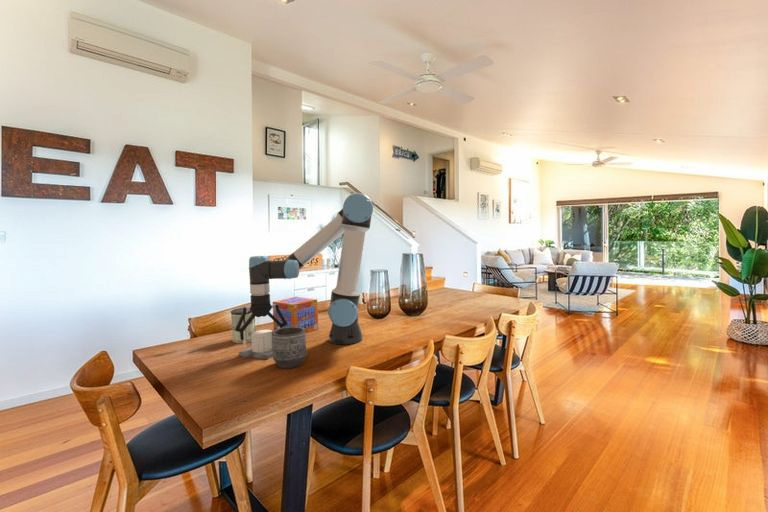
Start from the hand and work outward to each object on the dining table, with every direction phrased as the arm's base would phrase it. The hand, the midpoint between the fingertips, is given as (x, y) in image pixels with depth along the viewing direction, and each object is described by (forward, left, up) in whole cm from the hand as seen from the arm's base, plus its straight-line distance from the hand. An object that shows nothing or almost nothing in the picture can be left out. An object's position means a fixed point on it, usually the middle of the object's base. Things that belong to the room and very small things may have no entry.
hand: (262, 345), depth 152 cm
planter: (-19, +8, -3) cm, 21 cm away
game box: (+6, -33, -3) cm, 34 cm away
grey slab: (0, 0, -3) cm, 3 cm away
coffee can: (+21, -13, -3) cm, 25 cm away
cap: (0, 0, -2) cm, 2 cm away
